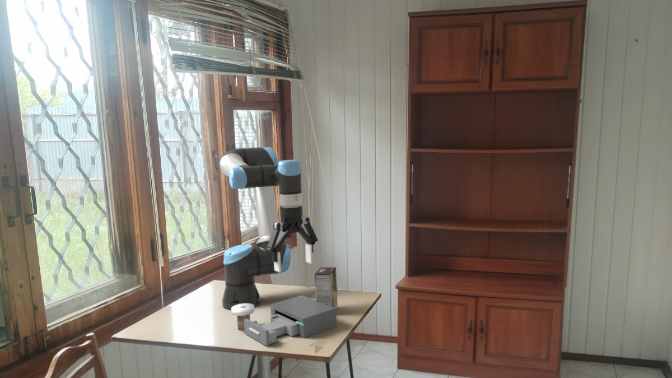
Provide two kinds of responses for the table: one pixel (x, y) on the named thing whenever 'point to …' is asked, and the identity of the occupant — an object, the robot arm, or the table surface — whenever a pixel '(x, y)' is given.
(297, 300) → the housing
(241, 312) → the lid
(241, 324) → the brown rounded peg
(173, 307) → the table surface
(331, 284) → the coffee box
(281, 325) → the grey drawer
